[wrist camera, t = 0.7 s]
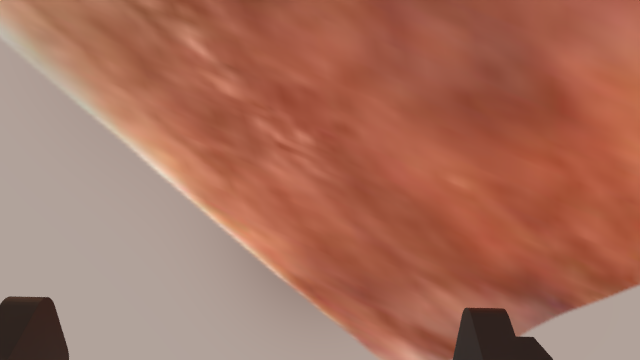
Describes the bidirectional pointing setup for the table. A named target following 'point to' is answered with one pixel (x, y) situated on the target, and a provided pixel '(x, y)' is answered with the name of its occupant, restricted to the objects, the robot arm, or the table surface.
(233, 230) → the table surface
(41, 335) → the robot arm
